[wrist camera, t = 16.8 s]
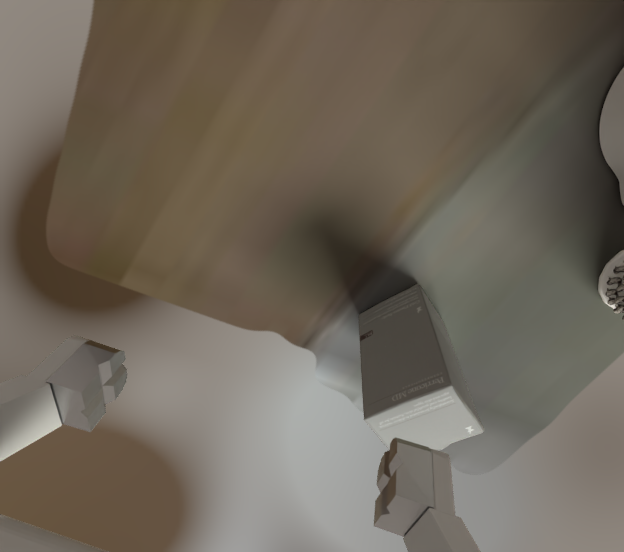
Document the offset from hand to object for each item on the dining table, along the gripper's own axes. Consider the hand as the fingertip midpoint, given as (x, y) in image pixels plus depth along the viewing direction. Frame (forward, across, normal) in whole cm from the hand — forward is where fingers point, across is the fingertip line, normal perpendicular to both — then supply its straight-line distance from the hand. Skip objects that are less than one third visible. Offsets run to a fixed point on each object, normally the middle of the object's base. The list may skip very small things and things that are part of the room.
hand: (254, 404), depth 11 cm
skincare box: (+30, -10, +19) cm, 37 cm away
